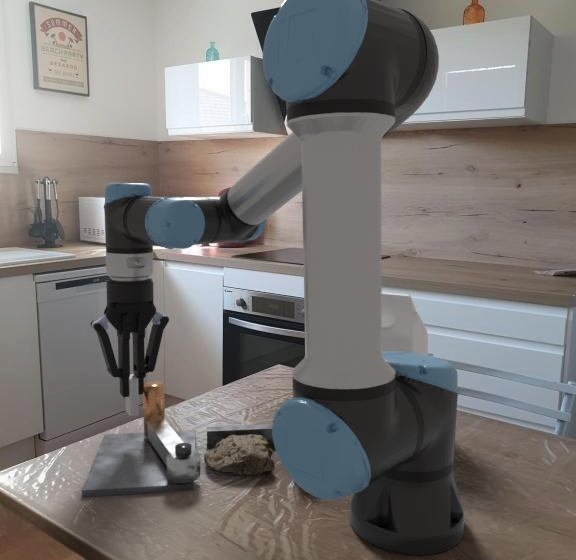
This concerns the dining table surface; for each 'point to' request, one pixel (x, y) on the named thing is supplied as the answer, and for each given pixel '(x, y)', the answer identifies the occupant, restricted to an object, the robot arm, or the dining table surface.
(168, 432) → the lever
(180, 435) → the cracker base
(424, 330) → the milk
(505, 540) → the dining table surface
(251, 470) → the rock
